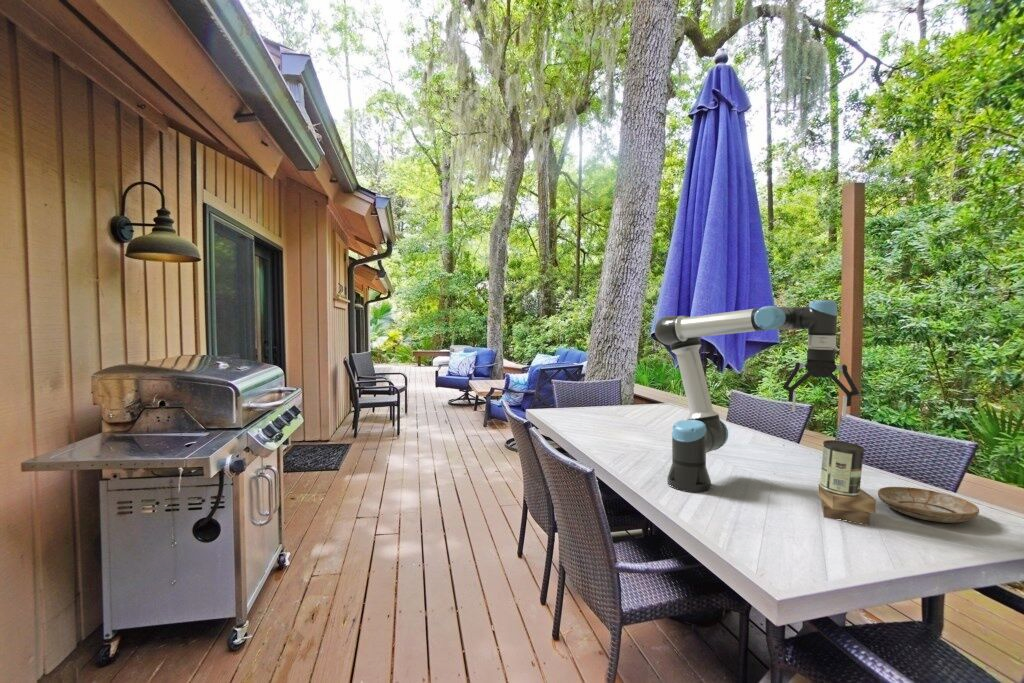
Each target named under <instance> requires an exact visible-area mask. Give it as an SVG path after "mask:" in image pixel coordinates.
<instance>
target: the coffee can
mask: <svg viewBox="0 0 1024 683" xmlns="http://www.w3.org/2000/svg"><path fill="white" fill-rule="evenodd" d="M864 452H865V448H864V447H863V446H861V445H859V444H856V443H852V442H848V441H841V440H834V439H832V440H831V439H830V440H829V439H828V440H823V450H822V460H821V468H820V469H821V471H820V481H819V484H820V486H821V487H822V488H824V489H825V490H828V491H830V492H833V493H837V494H841V495H848V496H856V495H859V494H860V488H861V482H862V480H861V479H862V471H863V462H864V461H863V460H864Z"/></svg>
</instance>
